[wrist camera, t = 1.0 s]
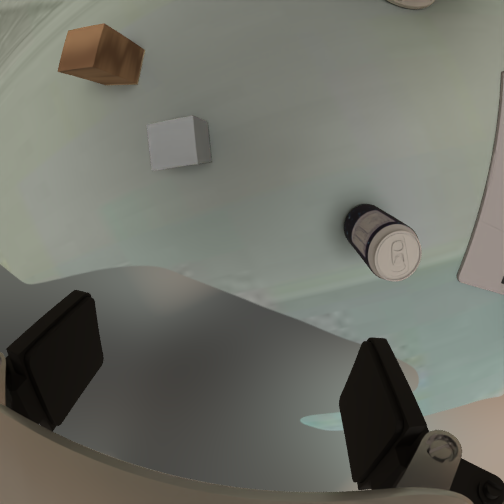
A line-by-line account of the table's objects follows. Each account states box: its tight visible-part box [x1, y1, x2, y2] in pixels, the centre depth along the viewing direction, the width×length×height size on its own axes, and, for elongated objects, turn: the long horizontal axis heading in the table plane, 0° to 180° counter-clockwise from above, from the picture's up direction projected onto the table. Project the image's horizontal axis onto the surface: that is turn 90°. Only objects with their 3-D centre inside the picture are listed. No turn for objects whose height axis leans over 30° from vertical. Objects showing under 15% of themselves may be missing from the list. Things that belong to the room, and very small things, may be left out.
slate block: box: [147, 115, 212, 171], centre depth 31 cm, size 5×5×7 cm
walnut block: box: [58, 24, 145, 85], centre depth 26 cm, size 5×5×11 cm
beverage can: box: [344, 204, 422, 281], centre depth 31 cm, size 6×6×12 cm
